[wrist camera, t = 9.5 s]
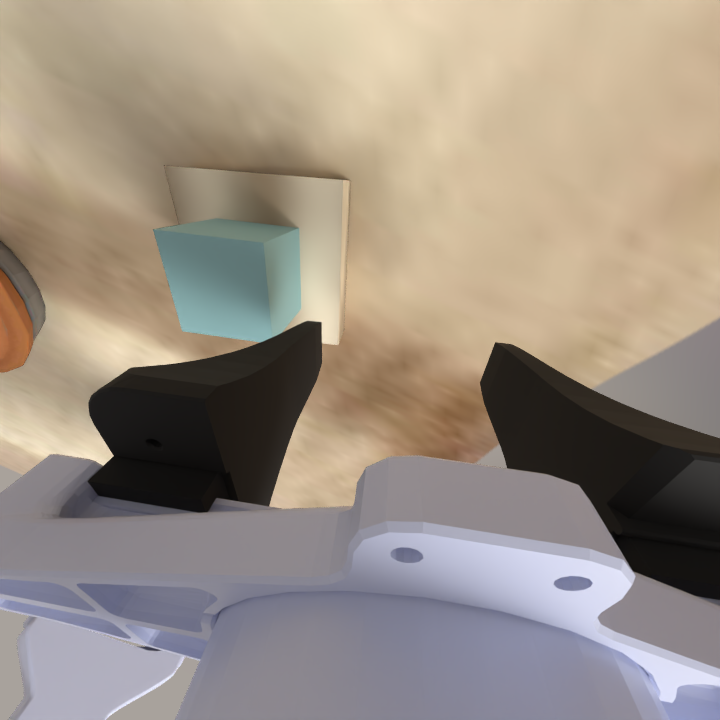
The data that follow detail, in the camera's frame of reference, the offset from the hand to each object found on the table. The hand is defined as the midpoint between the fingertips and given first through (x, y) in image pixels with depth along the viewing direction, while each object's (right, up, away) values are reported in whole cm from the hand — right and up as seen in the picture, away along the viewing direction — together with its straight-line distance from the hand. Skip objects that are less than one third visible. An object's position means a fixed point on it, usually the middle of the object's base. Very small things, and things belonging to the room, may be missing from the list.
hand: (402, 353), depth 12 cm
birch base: (-8, +7, +8) cm, 13 cm away
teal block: (-8, +6, +6) cm, 11 cm away
